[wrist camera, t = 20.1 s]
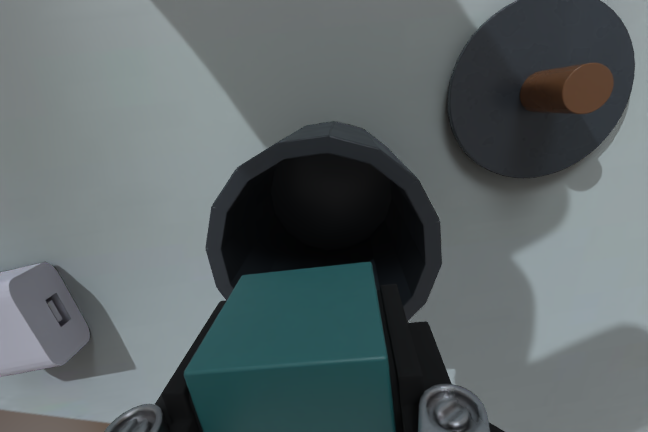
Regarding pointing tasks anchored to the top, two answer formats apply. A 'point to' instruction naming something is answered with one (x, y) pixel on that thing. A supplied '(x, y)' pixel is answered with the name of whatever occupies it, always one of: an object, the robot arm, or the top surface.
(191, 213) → the top surface
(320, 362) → the block
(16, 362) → the charger
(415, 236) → the container
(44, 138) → the top surface
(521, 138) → the lid
